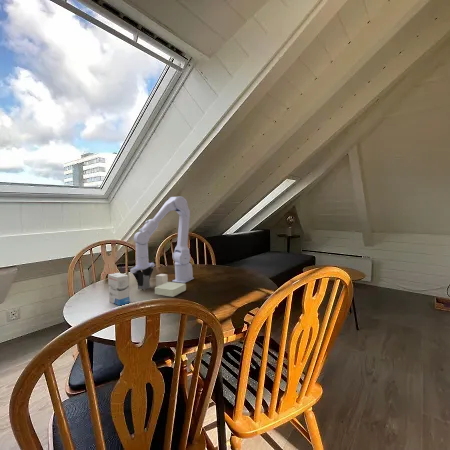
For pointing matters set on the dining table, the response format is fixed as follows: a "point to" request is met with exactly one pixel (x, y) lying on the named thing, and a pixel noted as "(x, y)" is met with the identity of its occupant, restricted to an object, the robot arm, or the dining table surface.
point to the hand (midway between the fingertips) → (143, 284)
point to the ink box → (118, 288)
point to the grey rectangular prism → (145, 283)
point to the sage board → (170, 289)
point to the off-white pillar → (161, 279)
